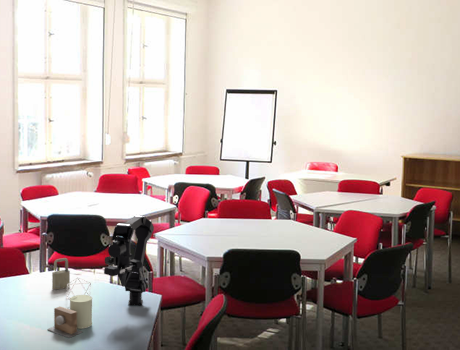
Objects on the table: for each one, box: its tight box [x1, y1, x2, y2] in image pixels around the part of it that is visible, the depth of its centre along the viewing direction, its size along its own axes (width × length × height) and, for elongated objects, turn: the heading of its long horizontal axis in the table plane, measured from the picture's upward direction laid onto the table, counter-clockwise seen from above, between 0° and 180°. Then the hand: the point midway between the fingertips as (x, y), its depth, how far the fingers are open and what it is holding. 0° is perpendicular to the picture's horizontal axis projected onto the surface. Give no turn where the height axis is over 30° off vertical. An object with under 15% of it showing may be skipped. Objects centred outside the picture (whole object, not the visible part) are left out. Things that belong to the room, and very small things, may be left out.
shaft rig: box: [47, 306, 83, 339], centre depth 238 cm, size 8×13×9 cm, turn 57°
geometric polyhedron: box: [66, 277, 92, 301], centre depth 276 cm, size 12×11×9 cm
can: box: [69, 294, 93, 330], centre depth 246 cm, size 9×9×12 cm
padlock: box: [51, 257, 71, 290], centre depth 292 cm, size 4×8×15 cm, turn 133°
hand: (123, 286), depth 258 cm, fingers closed
